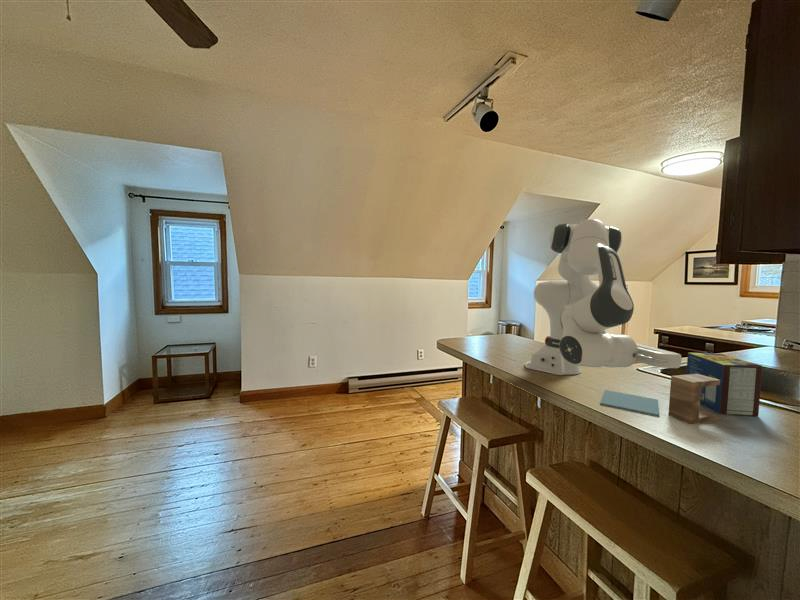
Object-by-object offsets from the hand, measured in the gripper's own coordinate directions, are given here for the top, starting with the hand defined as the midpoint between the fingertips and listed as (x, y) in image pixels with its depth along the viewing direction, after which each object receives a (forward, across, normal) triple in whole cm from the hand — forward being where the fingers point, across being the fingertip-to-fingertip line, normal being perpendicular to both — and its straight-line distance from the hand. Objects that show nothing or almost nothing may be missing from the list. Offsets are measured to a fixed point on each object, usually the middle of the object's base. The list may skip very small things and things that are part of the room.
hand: (656, 351), depth 92 cm
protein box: (+35, +3, +18) cm, 39 cm away
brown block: (+16, -1, +19) cm, 25 cm away
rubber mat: (+9, +12, +20) cm, 25 cm away
